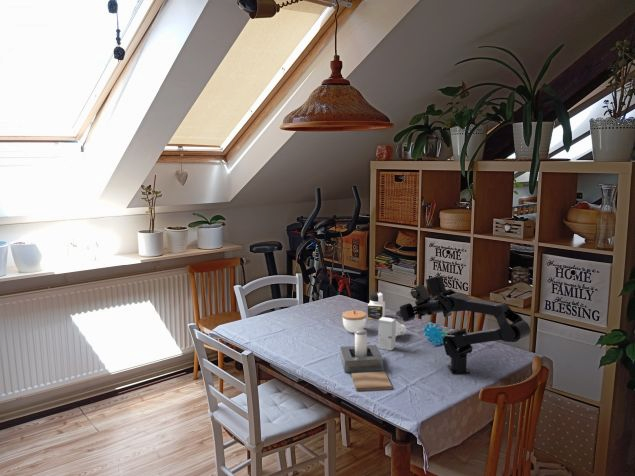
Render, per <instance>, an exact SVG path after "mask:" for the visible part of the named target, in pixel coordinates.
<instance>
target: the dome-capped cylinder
mask: <svg viewBox="0 0 635 476" xmlns="http://www.w3.org/2000/svg"><path fill="white" fill-rule="evenodd" d="M367 331H368V330H366V329H357V330H355V333H354V346H355V357H367V345H368V334H367V333H368V332H367Z"/></svg>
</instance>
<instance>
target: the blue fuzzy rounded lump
mask: <svg viewBox="0 0 635 476" xmlns="http://www.w3.org/2000/svg"><path fill="white" fill-rule="evenodd" d="M433 326H434V327H433ZM438 327H439V324H437V323H436V324H434V322H430V323H429V324H425V327H424V328H423V331H424V333H423V336H425V337H427V338H426V341H427V342H429V341H431V340H432V341H431V344H432V345H433V346H434V345H435V344H436V346H440V345H444V344H443V339H444V336H446V335H447V333H448V331H444V332H442V331H443V328H442V326H441V327H440V328H438Z"/></svg>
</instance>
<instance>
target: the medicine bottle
mask: <svg viewBox="0 0 635 476" xmlns="http://www.w3.org/2000/svg"><path fill="white" fill-rule="evenodd" d="M383 296H384V294H383V293H382V292H378V291H376V292H371V293H369V303H368V304H367V319H368V320H376V321H379V319H380V318H382V317H386V301H384V297H383Z"/></svg>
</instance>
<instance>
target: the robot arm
mask: <svg viewBox="0 0 635 476" xmlns="http://www.w3.org/2000/svg"><path fill="white" fill-rule="evenodd" d="M424 281H425V284H426V285H425V284H420V285H416V286H415V287H412V288H411V290H410V295H411V297H412V298H413V299H415V301H414V303H415V306H413V304H411V303H410V302H408V303H404V304H402V305H401V304H400V305H399V310H398V311H396V312H395V315H396V316H397V317H400V318H401V319H402V321H403V322H410V321H413V320H414V319H415V318H416V315H418V316H419V317H421V318H422V317H425V316H431V315H434V314H440V313H442V315H443V317H444V318H448V317H451V316H452V313H453V312H465V311H468V312H473V313H476V314H477V313H479V314H482V315H488V316H494V317H495V319H496V321H497V325H498V328H497V327H496V328H491V329H484V330H478V331H474V332H473V331H472V332H468V331H467V328H466V327H465V328H462V329H460V328H459V329H455V330H452V331H449V332H447V334H446V335H445V336H444V339H442V340H443V344H442V345H443V346H444V350H445V355H446V356H449V358H450V365H448V364H447V367H446V368H447V369H448V370H449V372H450V373H452V374H453V375H458V374H470V373H471V370H470V369H469V368H468V367H467V366H468V354H471V353H472V352H473V348H474V347H473V346H472V345H476V344H481V343H482V344H483V343H488V342H489V343H490V342H497V341H501V342H504V343H516V342H519V341H520V340H521V341H522V340H524V339H526V338H528V337H530V334H531V331H532V330H531V327H530V325H529V323H528V322H526V320H524V319H523V317H521V315H519V314H518V313H517V312H515V311H514V310H512V308H511V307H510V306H509V305H508V303H504V302H495V301H494V302H493V301H489V300H482V299H476V298H472V297H469V295H467V294H464V293H462V292H456V291H455V290H454V289H451V288H449V289H446V287H445V283H444V277H443V275H441V276H440V275H439V276H435V277H430V278H427V279H426V278H425V279H424ZM508 320H509V321H510V322H512V323H509V322H508Z"/></svg>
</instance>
